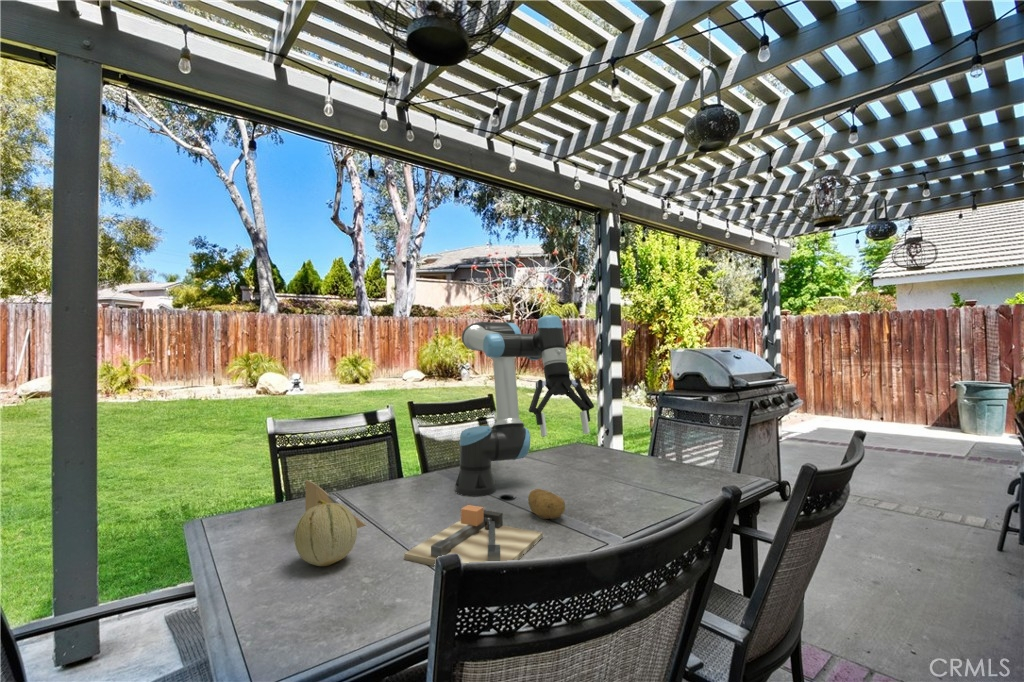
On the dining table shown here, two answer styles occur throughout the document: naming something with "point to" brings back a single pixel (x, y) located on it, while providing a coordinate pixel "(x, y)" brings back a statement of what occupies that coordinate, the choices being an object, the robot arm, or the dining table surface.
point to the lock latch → (472, 515)
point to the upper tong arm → (492, 540)
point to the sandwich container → (321, 498)
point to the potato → (546, 504)
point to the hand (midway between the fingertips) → (565, 434)
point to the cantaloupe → (325, 533)
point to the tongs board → (475, 542)
